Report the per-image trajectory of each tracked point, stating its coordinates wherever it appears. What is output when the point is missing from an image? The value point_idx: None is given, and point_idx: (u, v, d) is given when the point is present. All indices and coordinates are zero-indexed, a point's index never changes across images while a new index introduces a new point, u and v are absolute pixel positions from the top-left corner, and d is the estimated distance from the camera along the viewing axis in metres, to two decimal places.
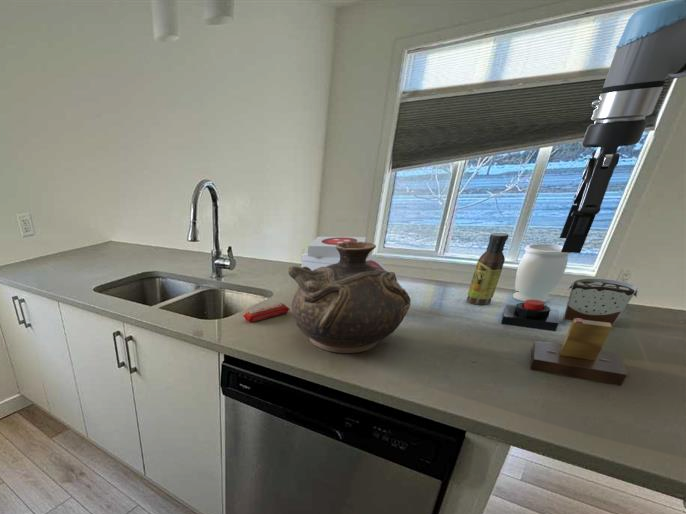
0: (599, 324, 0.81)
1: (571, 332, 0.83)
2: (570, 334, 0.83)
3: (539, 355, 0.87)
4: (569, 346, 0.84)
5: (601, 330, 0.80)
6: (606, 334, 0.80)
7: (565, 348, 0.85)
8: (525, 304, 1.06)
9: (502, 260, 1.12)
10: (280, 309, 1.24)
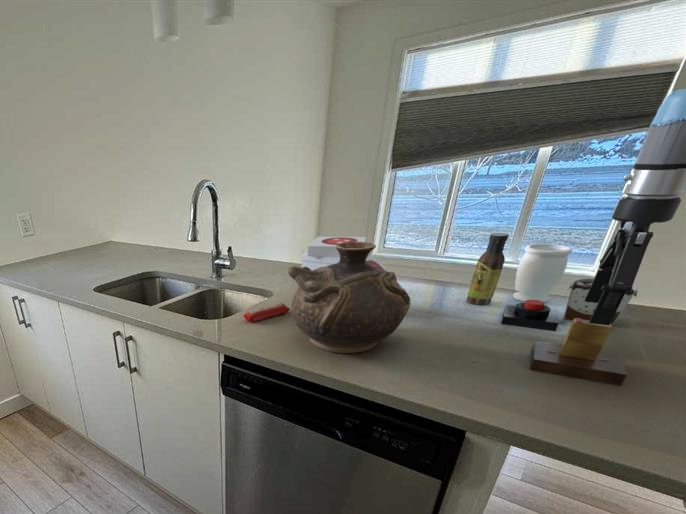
0: (599, 324, 0.81)
1: (571, 332, 0.83)
2: (570, 334, 0.83)
3: (539, 355, 0.87)
4: (569, 346, 0.84)
5: (601, 330, 0.80)
6: (606, 334, 0.80)
7: (565, 348, 0.85)
8: (525, 304, 1.06)
9: (502, 260, 1.12)
10: (281, 309, 1.24)
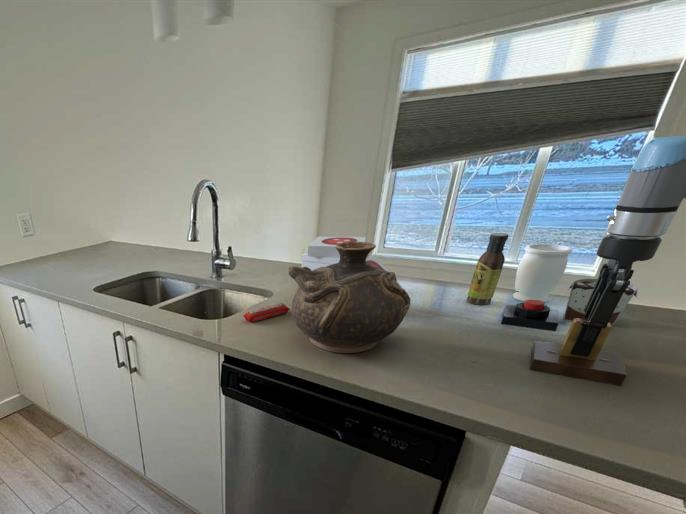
0: None
1: (571, 332, 0.83)
2: (570, 334, 0.83)
3: (539, 355, 0.87)
4: (569, 346, 0.84)
5: (601, 330, 0.80)
6: (606, 334, 0.80)
7: (565, 348, 0.85)
8: (525, 304, 1.06)
9: (502, 260, 1.12)
10: (281, 309, 1.24)
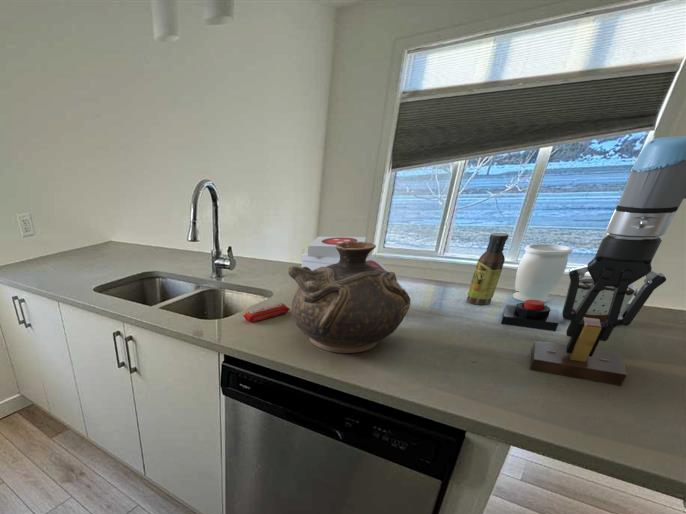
0: (596, 321, 0.82)
1: (596, 338, 0.80)
2: (595, 340, 0.80)
3: (539, 355, 0.87)
4: None
5: None
6: None
7: (588, 354, 0.82)
8: (525, 304, 1.06)
9: (502, 260, 1.12)
10: (281, 309, 1.24)
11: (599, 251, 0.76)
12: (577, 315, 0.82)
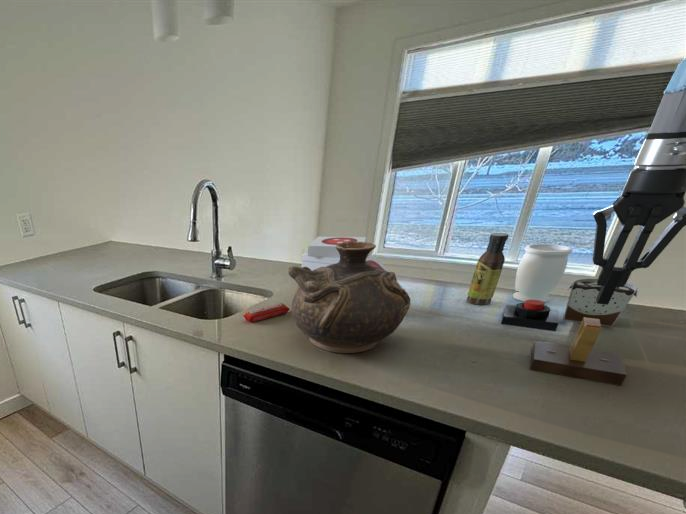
0: (596, 321, 0.82)
1: (596, 338, 0.80)
2: (595, 340, 0.80)
3: (539, 355, 0.87)
4: None
5: None
6: None
7: (588, 354, 0.82)
8: (525, 304, 1.06)
9: (502, 260, 1.12)
10: (281, 309, 1.24)
11: (627, 186, 0.70)
12: (609, 261, 0.76)
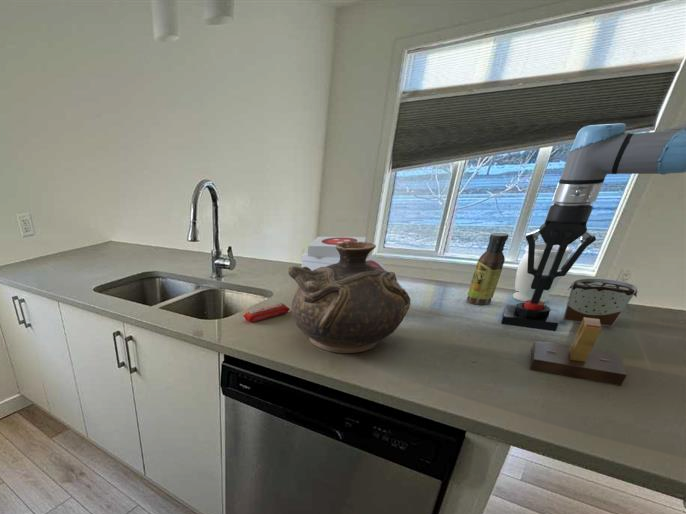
0: (596, 321, 0.82)
1: (596, 338, 0.80)
2: (595, 340, 0.80)
3: (539, 355, 0.87)
4: None
5: None
6: None
7: (588, 354, 0.82)
8: (525, 304, 1.06)
9: (502, 260, 1.12)
10: (281, 309, 1.24)
11: (547, 216, 0.96)
12: (538, 271, 1.01)
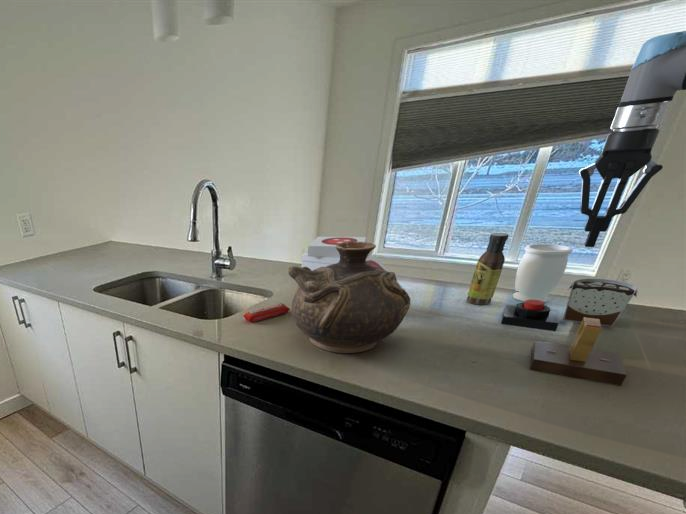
0: (596, 321, 0.82)
1: (596, 338, 0.80)
2: (595, 340, 0.80)
3: (539, 355, 0.87)
4: None
5: None
6: None
7: (588, 354, 0.82)
8: (525, 304, 1.06)
9: (502, 260, 1.12)
10: (281, 309, 1.24)
11: (605, 146, 0.87)
12: (593, 210, 0.92)
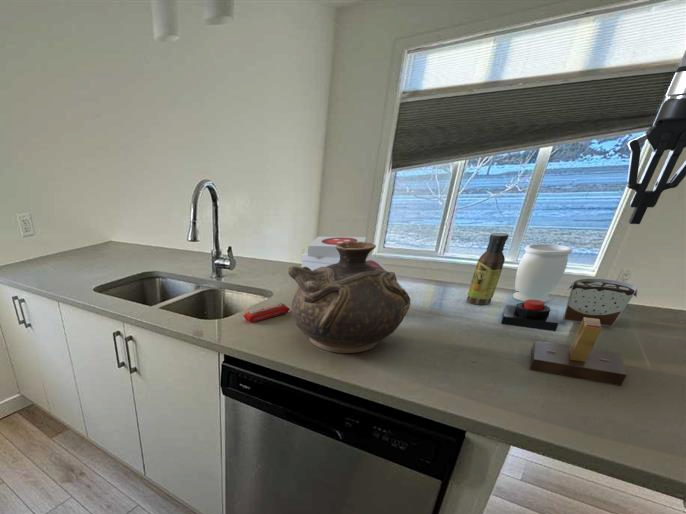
0: (596, 321, 0.82)
1: (596, 338, 0.80)
2: (595, 340, 0.80)
3: (539, 355, 0.87)
4: None
5: None
6: None
7: (588, 354, 0.82)
8: (525, 304, 1.06)
9: (502, 260, 1.12)
10: (281, 309, 1.24)
11: (659, 115, 0.82)
12: (642, 184, 0.87)
